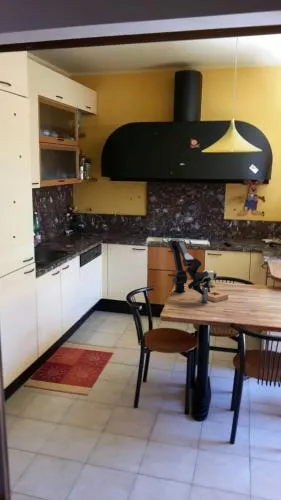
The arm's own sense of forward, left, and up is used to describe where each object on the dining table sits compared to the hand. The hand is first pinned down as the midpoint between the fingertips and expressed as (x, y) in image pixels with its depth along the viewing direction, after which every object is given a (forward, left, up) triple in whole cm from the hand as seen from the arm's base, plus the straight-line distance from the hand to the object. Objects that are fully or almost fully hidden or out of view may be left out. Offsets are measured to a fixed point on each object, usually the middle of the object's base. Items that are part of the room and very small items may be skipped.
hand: (206, 293), depth 266 cm
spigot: (-1, 0, -7) cm, 7 cm away
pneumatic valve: (-30, +34, -7) cm, 46 cm away
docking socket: (-4, +13, -7) cm, 15 cm away
